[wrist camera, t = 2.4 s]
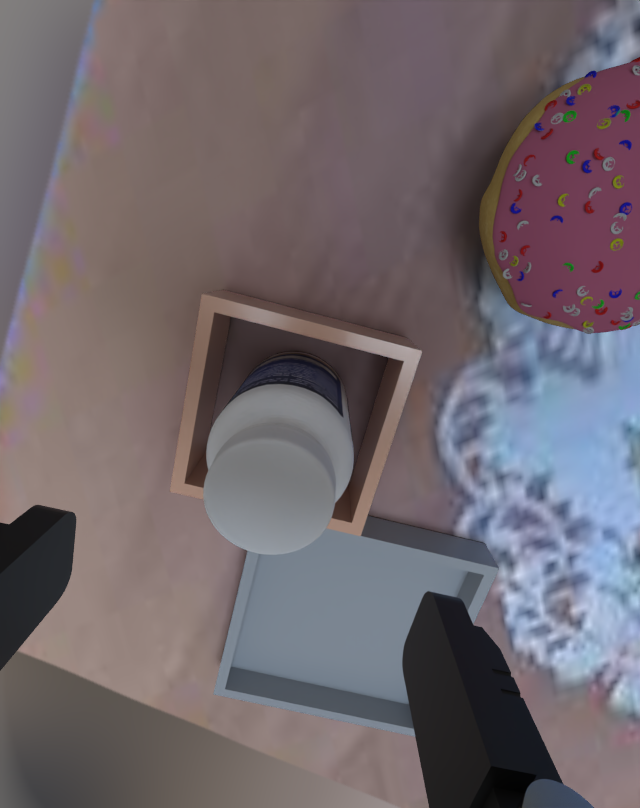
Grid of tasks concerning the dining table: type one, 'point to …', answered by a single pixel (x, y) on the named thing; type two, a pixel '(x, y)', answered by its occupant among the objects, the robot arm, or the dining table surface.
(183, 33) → the dining table surface
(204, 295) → the holder
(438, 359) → the dining table surface
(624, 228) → the cupcake
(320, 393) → the pill bottle
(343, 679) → the tray
